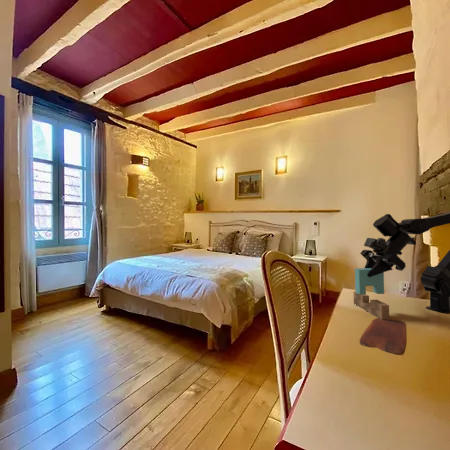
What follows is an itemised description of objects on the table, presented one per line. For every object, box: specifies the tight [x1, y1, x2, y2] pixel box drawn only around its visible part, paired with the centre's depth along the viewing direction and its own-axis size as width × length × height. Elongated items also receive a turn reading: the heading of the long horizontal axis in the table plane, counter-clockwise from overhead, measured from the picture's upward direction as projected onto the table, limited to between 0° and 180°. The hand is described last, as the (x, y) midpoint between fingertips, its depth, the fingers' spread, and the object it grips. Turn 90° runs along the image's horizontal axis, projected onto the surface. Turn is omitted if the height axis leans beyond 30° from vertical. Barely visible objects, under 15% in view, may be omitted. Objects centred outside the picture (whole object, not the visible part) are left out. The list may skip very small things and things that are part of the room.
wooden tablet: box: [359, 317, 407, 356], centre depth 75 cm, size 27×10×2 cm, turn 141°
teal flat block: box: [354, 267, 385, 295], centre depth 93 cm, size 9×3×9 cm, turn 91°
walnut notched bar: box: [353, 291, 390, 320], centre depth 93 cm, size 18×2×5 cm, turn 1°
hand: (365, 275), depth 93 cm, fingers closed on teal flat block, 3 cm apart
